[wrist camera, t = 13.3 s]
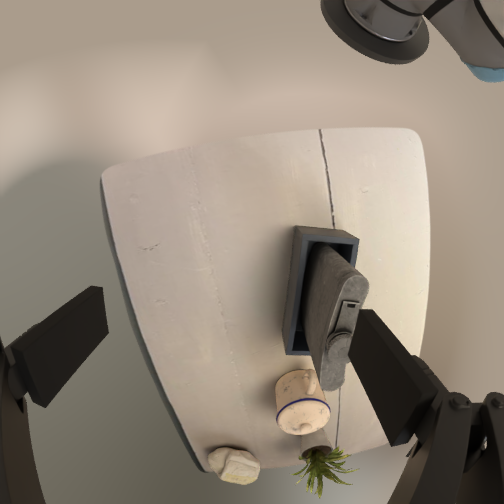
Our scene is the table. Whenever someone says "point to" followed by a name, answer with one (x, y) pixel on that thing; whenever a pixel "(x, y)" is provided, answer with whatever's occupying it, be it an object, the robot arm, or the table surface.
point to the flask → (330, 312)
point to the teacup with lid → (301, 403)
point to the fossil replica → (234, 465)
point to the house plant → (320, 458)
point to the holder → (300, 253)
